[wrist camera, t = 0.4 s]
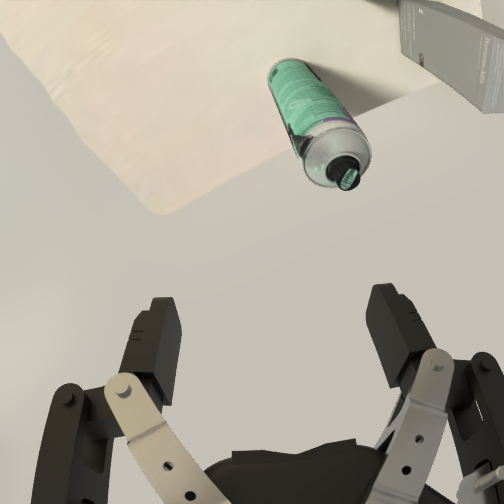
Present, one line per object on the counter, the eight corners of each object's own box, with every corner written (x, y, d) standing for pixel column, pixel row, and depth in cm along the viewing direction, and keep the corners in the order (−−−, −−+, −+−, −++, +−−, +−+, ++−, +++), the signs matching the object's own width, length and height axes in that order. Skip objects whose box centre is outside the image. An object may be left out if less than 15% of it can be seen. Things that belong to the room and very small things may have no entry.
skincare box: (395, -4, 22) (489, 30, 12) (442, 2, 21) (536, 43, 11) (399, 57, 29) (479, 116, 19) (442, 57, 28) (523, 117, 18)
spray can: (269, 101, 34) (309, 216, 21) (264, 60, 29) (307, 152, 17) (313, 96, 33) (380, 206, 21) (311, 56, 29) (391, 144, 17)
